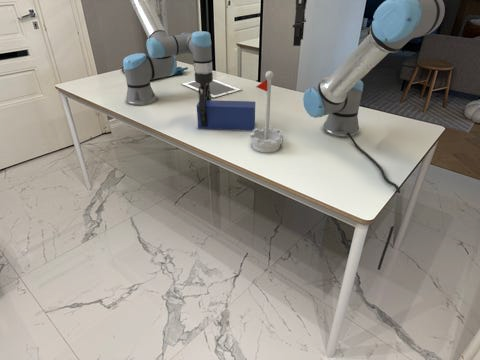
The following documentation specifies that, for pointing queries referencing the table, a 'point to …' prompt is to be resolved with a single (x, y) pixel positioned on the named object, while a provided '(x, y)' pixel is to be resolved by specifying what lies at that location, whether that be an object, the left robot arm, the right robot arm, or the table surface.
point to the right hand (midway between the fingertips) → (298, 42)
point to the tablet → (214, 88)
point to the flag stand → (266, 124)
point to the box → (229, 115)
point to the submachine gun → (179, 70)
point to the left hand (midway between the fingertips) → (206, 121)
